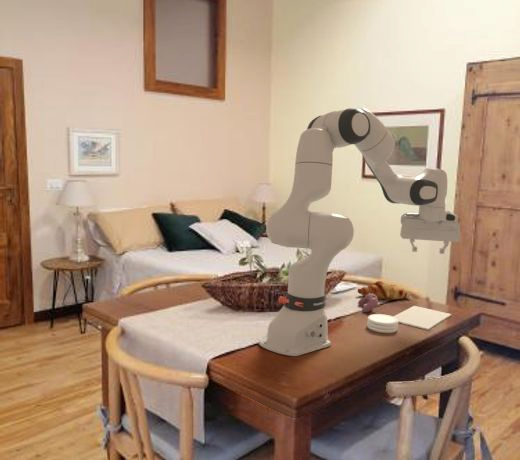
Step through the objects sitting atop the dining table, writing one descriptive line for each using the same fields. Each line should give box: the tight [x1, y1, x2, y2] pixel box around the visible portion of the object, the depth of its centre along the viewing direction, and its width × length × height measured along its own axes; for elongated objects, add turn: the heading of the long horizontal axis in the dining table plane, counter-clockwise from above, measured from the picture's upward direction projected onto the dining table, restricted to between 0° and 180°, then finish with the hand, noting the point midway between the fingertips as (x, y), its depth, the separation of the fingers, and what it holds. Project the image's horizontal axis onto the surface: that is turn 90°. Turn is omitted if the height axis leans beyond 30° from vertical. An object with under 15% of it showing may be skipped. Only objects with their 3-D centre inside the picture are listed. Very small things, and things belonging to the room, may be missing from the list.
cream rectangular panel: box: [393, 305, 452, 331], centre depth 182 cm, size 22×14×1 cm, turn 141°
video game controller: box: [357, 293, 379, 313], centre depth 190 cm, size 10×5×7 cm, turn 179°
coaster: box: [366, 313, 399, 334], centre depth 170 cm, size 10×10×4 cm
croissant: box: [357, 280, 411, 301], centre depth 206 cm, size 21×10×8 cm, turn 89°
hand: (428, 252), depth 184 cm, fingers open, 8 cm apart
